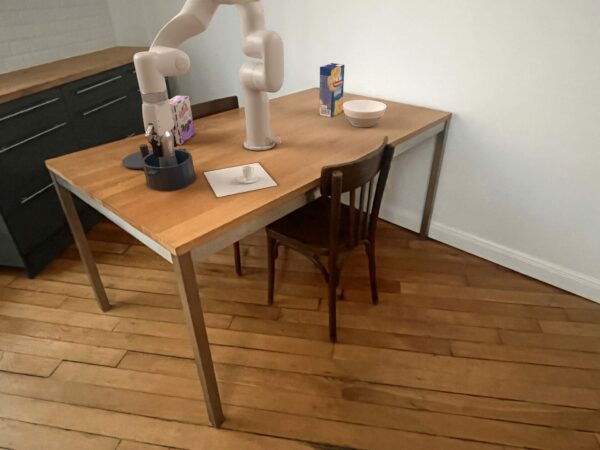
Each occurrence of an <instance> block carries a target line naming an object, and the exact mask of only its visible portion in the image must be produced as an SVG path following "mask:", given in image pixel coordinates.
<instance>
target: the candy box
mask: <svg viewBox="0 0 600 450" xmlns="http://www.w3.org/2000/svg"><path fill="white" fill-rule="evenodd" d="M169 103H170V107H171V111H172V115H173V118H175V119H176V122H175V138H176V143H177V146H182V145H183V144H185V142H187V141H188V140H189V139H190V138H192V137H193V136H195V134H196V132H195V126H194V119H193V114H192V113H193V112H192V107H191V100H190V96H189V95H175V96H174V97H172V98H170V99H169Z"/></svg>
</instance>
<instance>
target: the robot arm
mask: <svg viewBox="0 0 600 450" xmlns="http://www.w3.org/2000/svg"><path fill="white" fill-rule="evenodd" d="M220 5H228V6H232V5H234V6H235V7H236V9H237V12H238V16H239V25H240V43H241V50H242V52H243V54H244V55H245V56H246V57H249V58H253V59H258V60H262V61H254V60H249V61H246V62H244V63H243V64H242V65H241V66H240V68H239V71H238V80H239V84H240V87H241V92H242V96H243V107H244V108H243V109H244V118H245V132H246V139H245V140H244V141H243V147H244V148H245V149H246V150H250V151H256V152H257V151H266V150H270V149H272V148H274V147H275V146H276V144H281V143H282V138H281V137H280V136H275V135H274V132H272V131H271V113H270V99H269V95H268V93H271V94H274V93H277V92H279V91H280V90H281V89H282V87H283V85H284V80H285V47H284V41H283V39H282V36H281V35H280V34H279V33H278V32H277V31H276V30H273V29H266V20H265V19H266V18H265V11H264V7H263V5H262V2H261V0H186V1H185V3H184V4H183V6H182V8H181V10H180V11H179V12H178V13H177V14H176V15H175V16H174V17H173V18H171V19H170V20H169V21H168V22H167V23H166V24H165V25H164V26H163V27H161V29H160V30H159V31H158V33H157V34H156V36H155V37H154V39H153V41H152V43H151V45H150V47H149V49H148V50H146V51H145V50H144V51H139V52H136V53H134V55H133V64H134V69H135V73H136V78H137V82H138V87H139V91H140V96H141V102H142V104H141V108H142V109H141V110H142V112H141V113H142V121H143V126H144V131H145V135H144V138H145V139H146V140H147V142H148V143H149V145H150V146H151V150H153V154H154V156H155V157H163V156H164V154H163V149H162V145H160V140H161V136H163V135H164V134H165V133H166V132H167V131H168V130H170V131H171V132H172V134H173V137H174V148H177V146H178V145H177V143H176V138H175V122H176V119H175V118H173V115H172V111H171V107H170V103H169V100H170V99H169V95H168V89H167V84H166V78H165V77H179V76H183V75H185V74H186V73H187V72H188V71H189V70H190V68H191V59H190V57H189V55H188V53H186V52H185V51H183V50H181V49H178V48H179V47H180V46H181V45H182V44H184V42H186V41H187V40H189V39H192V38H194V37H196V36H199V35H200V34H202V33H204V32H205V31H206V30H207V29H208V28H209V27H208V26H209V25H210V23H211V21H212V20H213V17H214V16H215V14H216V12H217V10H218V8H219V6H220ZM154 133H157V135H154ZM154 137H157V141H156V140H155V139H154Z"/></svg>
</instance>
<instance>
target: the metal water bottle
mask: <svg viewBox="0 0 600 450" xmlns="http://www.w3.org/2000/svg"><path fill="white" fill-rule="evenodd" d="M154 135H157V133H154ZM154 139H155V140H156V141H157V137H154ZM160 145H162V149H163V154H164V156H163V157H159V164H160V167H169V166H175V165H178V163H177V160H176V156H175V150H174V149H175V147H174V137H173V134H172V132H171V131H170V130H168V131H167V132H166V133H165V134H164V135H163V136H161V140H160Z"/></svg>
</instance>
